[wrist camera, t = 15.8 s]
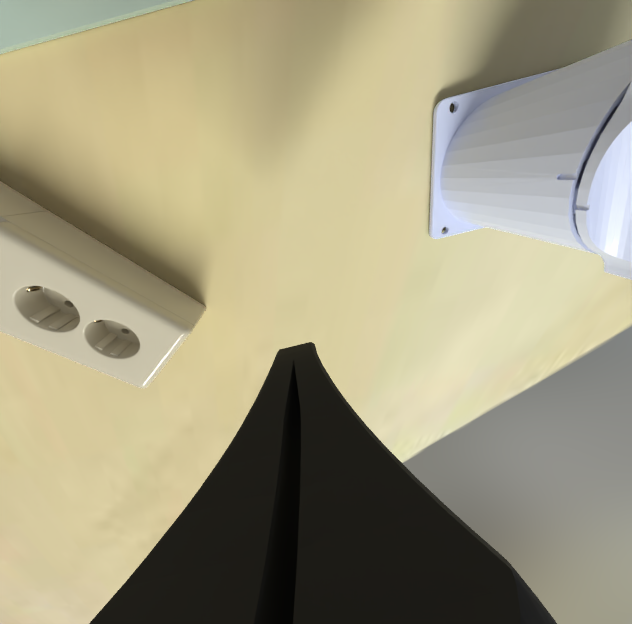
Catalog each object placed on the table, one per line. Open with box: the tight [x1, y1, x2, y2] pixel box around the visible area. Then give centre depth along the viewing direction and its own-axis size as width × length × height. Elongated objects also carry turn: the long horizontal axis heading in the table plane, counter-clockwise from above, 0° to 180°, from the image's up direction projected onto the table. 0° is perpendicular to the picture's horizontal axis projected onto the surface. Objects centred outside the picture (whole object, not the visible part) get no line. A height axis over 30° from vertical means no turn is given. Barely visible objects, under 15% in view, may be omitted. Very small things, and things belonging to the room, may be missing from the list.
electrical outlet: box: [0, 181, 206, 388], centre depth 15 cm, size 7×4×18 cm
